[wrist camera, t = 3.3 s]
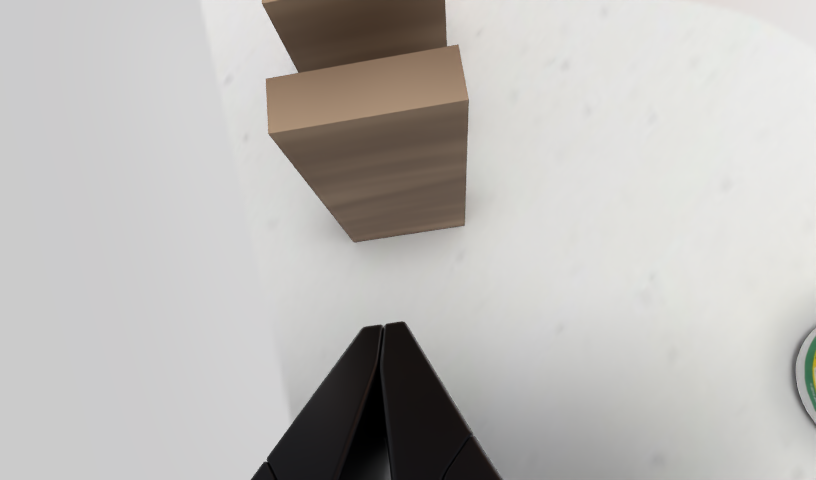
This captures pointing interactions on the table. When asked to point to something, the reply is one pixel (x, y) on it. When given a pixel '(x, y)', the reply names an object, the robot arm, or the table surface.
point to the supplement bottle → (807, 374)
